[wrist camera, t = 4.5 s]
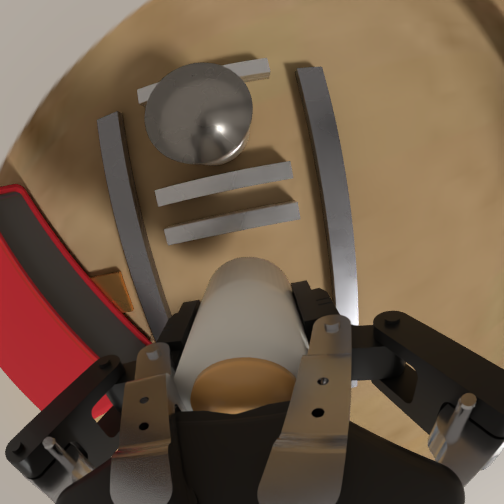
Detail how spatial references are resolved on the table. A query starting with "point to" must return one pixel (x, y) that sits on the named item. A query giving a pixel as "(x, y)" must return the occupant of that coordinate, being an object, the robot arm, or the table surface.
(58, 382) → the red device housing
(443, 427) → the robot arm
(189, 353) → the halved boiled egg
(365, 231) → the table surface
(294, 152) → the table surface
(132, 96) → the table surface
